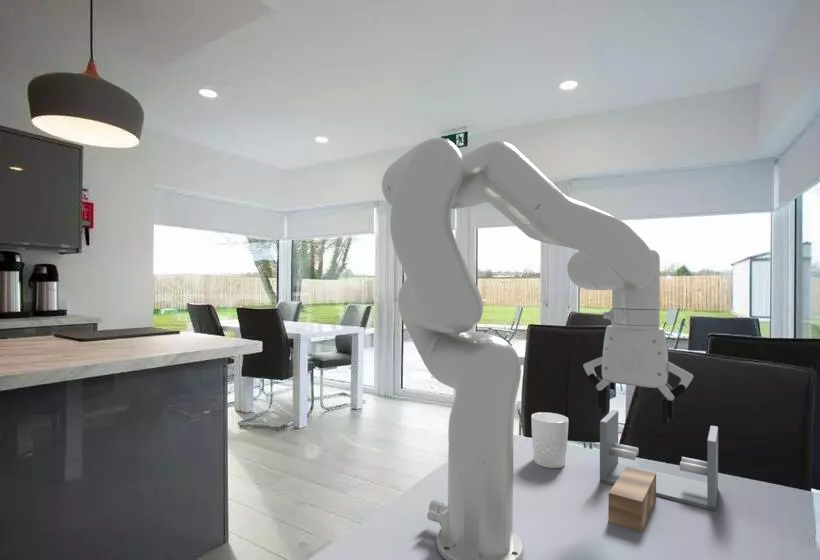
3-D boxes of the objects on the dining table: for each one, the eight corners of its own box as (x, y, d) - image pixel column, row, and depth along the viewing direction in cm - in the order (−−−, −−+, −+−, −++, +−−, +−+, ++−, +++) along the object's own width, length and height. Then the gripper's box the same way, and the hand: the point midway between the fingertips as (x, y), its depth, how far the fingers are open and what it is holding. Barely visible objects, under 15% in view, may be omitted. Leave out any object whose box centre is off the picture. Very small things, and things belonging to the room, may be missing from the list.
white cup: (523, 459, 101) (523, 414, 101) (549, 453, 105) (549, 410, 105) (549, 472, 94) (550, 424, 94) (576, 465, 98) (576, 419, 98)
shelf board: (641, 533, 71) (642, 501, 71) (608, 523, 74) (608, 492, 74) (655, 500, 82) (656, 473, 82) (626, 492, 85) (626, 466, 85)
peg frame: (599, 481, 90) (600, 421, 90) (612, 464, 98) (612, 409, 99) (715, 510, 78) (715, 441, 78) (717, 488, 87) (718, 426, 87)
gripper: (578, 317, 81) (577, 412, 81) (691, 323, 71) (690, 432, 70) (589, 315, 87) (589, 404, 87) (695, 320, 77) (694, 421, 76)
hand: (634, 416), depth 78 cm, fingers open, 9 cm apart
